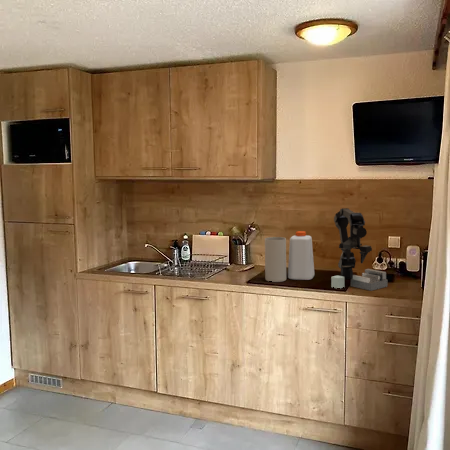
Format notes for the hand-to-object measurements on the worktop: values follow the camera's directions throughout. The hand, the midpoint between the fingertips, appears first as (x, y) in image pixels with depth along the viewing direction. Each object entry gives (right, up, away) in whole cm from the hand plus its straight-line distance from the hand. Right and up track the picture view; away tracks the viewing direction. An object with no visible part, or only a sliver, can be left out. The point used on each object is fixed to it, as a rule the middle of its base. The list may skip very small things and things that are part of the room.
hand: (354, 262), depth 284 cm
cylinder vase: (-43, -12, +15) cm, 47 cm away
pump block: (-11, -14, -6) cm, 18 cm away
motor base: (+6, -13, -6) cm, 16 cm away
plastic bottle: (-27, -11, +20) cm, 36 cm away
